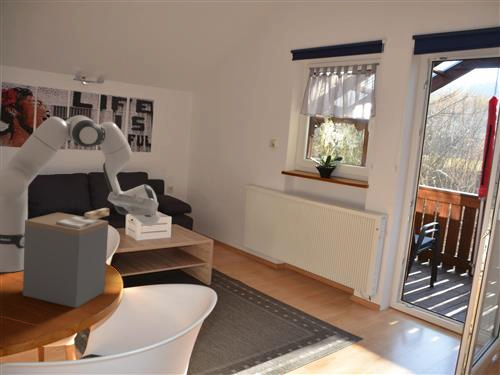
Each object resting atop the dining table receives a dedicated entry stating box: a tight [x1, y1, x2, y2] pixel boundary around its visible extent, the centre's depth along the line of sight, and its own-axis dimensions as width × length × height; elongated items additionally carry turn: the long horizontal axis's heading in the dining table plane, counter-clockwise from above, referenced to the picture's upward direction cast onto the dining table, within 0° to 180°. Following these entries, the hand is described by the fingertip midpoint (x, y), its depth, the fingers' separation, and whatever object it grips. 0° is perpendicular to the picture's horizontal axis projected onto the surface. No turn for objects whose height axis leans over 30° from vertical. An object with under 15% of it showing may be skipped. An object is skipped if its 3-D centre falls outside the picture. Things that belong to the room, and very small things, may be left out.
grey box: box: [22, 211, 109, 309], centre depth 159 cm, size 21×16×26 cm
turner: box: [56, 207, 111, 228], centre depth 160 cm, size 22×9×2 cm, turn 164°
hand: (124, 194), depth 183 cm, fingers open, 8 cm apart
